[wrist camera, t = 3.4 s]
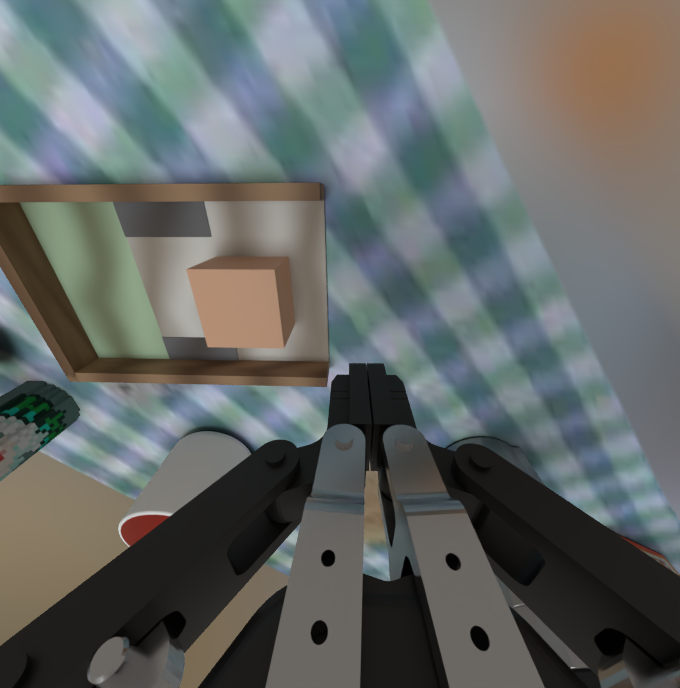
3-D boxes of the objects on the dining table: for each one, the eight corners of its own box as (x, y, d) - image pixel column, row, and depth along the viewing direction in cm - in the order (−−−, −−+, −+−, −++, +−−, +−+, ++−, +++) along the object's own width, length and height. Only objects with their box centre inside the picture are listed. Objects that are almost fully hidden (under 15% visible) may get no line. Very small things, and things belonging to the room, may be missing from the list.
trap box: (323, 184, 19) (319, 182, 17) (329, 368, 27) (326, 386, 24) (3, 187, 20) (-49, 185, 18) (96, 364, 28) (69, 381, 25)
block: (288, 256, 22) (274, 269, 18) (295, 324, 24) (284, 348, 21) (216, 256, 22) (185, 269, 18) (230, 323, 25) (207, 347, 21)
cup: (173, 419, 31) (104, 505, 23) (258, 432, 32) (222, 521, 23) (183, 473, 36) (130, 561, 28) (257, 483, 37) (227, 573, 28)
